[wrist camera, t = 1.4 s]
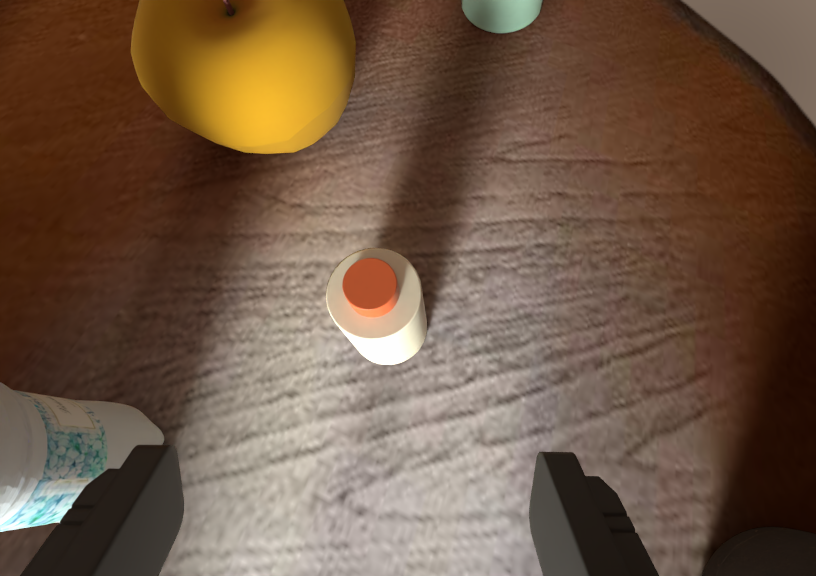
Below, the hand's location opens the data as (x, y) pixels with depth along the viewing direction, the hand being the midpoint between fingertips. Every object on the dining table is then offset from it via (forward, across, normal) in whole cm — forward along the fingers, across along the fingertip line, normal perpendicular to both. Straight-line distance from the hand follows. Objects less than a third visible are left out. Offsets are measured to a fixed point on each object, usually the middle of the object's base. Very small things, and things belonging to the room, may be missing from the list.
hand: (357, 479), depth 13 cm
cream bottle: (+22, -1, +7) cm, 23 cm away
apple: (+32, +8, -5) cm, 33 cm away
